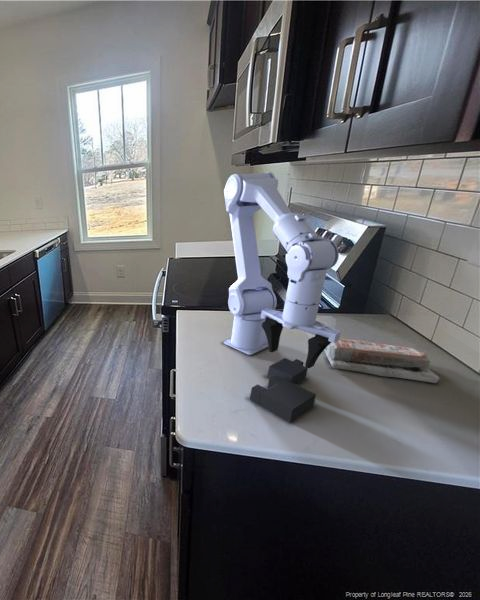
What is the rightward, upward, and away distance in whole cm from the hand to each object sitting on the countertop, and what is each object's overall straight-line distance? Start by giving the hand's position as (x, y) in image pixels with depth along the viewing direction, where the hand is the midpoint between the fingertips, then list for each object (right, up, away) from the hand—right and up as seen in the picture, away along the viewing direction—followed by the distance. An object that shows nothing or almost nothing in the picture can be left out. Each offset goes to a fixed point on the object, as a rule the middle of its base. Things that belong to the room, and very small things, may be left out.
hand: (290, 358), depth 69 cm
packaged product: (+23, -3, +5) cm, 23 cm away
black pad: (-5, -8, -5) cm, 11 cm away
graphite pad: (0, -5, +2) cm, 5 cm away
